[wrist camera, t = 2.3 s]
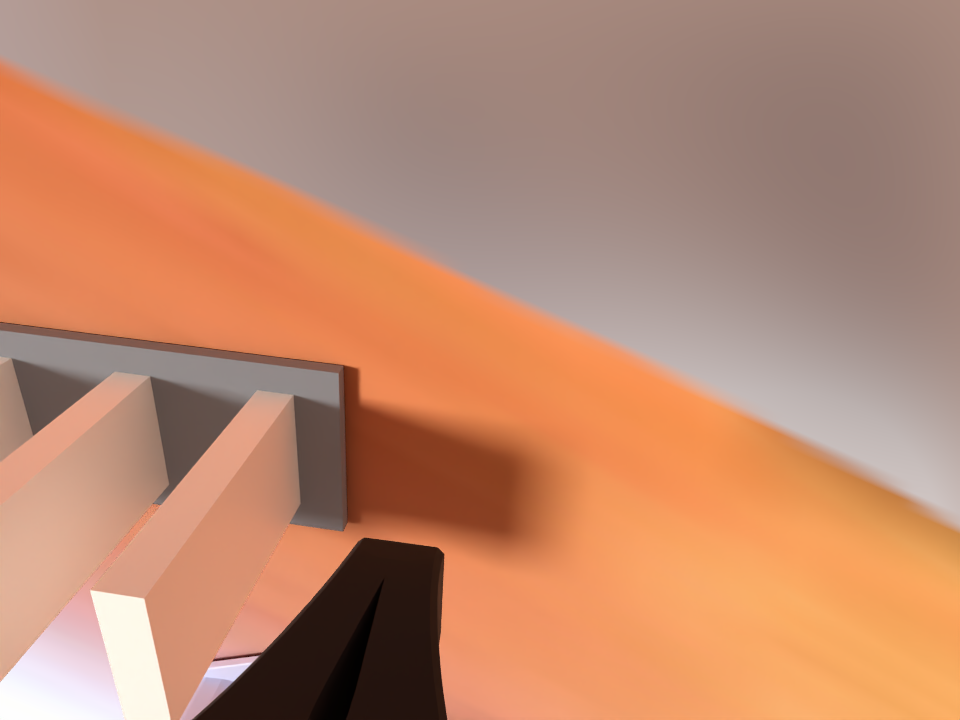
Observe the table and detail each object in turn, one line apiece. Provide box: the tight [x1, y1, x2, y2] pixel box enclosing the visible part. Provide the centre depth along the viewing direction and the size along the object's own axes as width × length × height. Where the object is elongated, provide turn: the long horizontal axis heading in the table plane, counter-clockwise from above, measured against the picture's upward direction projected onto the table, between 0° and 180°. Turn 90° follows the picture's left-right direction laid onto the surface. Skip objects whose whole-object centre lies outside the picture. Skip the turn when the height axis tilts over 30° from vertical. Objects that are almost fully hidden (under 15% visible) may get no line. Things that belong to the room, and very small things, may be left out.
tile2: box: [0, 372, 169, 682], centre depth 20 cm, size 1×4×8 cm, turn 176°
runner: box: [0, 323, 347, 531], centre depth 24 cm, size 23×6×1 cm, turn 86°
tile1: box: [90, 390, 301, 720], centre depth 19 cm, size 1×4×8 cm, turn 176°
